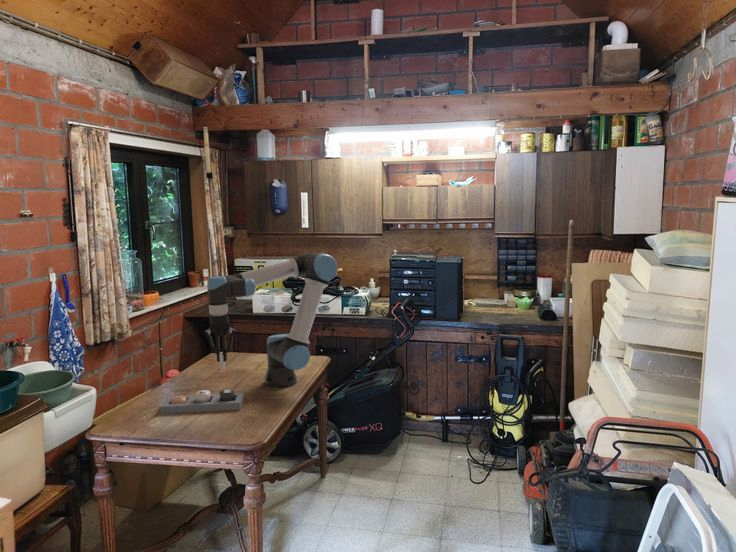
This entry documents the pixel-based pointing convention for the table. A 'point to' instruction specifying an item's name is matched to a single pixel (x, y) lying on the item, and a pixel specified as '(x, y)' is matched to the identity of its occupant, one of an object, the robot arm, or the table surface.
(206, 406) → the panel
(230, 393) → the button black
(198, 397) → the button white
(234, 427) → the table surface
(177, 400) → the button terracotta
